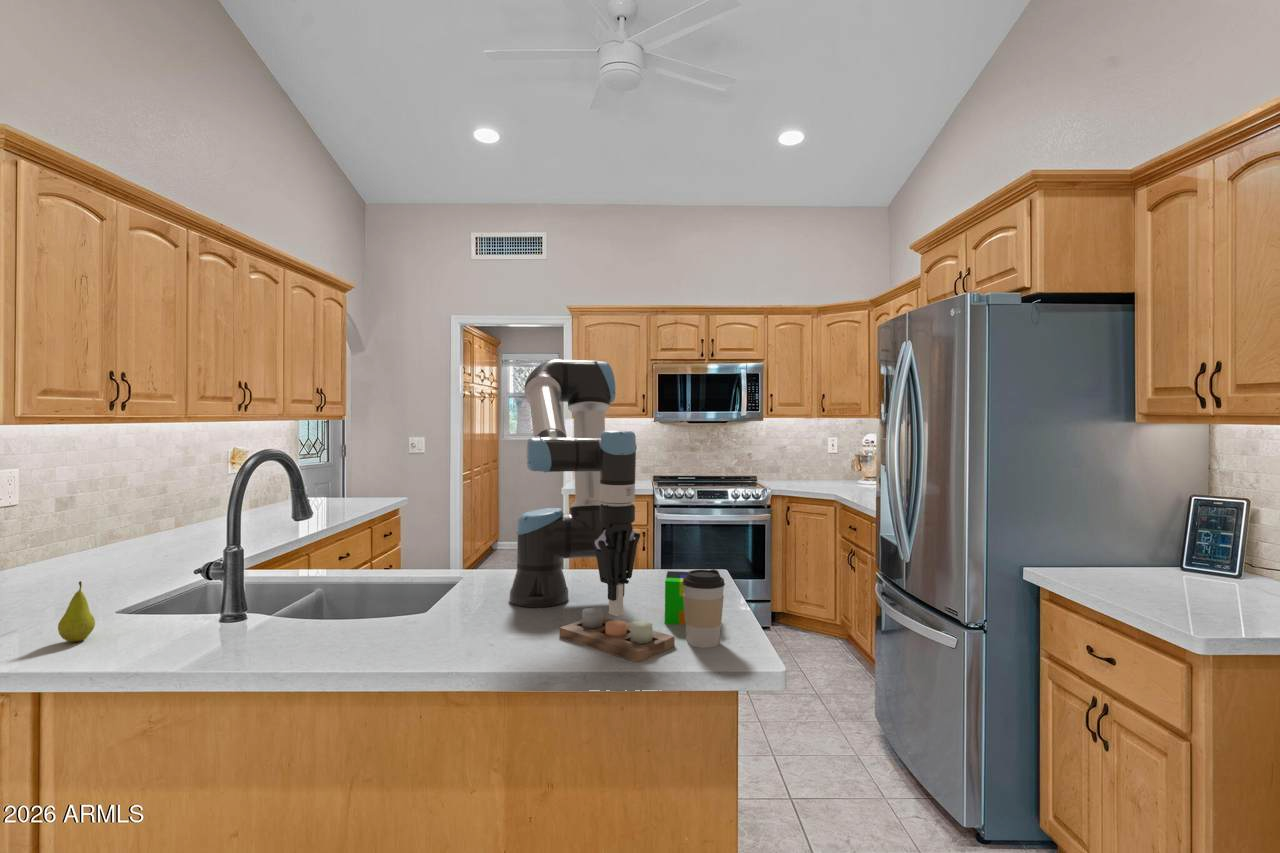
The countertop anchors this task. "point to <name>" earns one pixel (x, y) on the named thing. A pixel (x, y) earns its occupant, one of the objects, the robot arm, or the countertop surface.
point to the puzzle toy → (674, 598)
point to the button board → (617, 641)
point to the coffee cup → (703, 607)
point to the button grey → (592, 618)
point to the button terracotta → (616, 628)
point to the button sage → (641, 632)
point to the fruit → (76, 619)
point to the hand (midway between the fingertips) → (615, 613)
